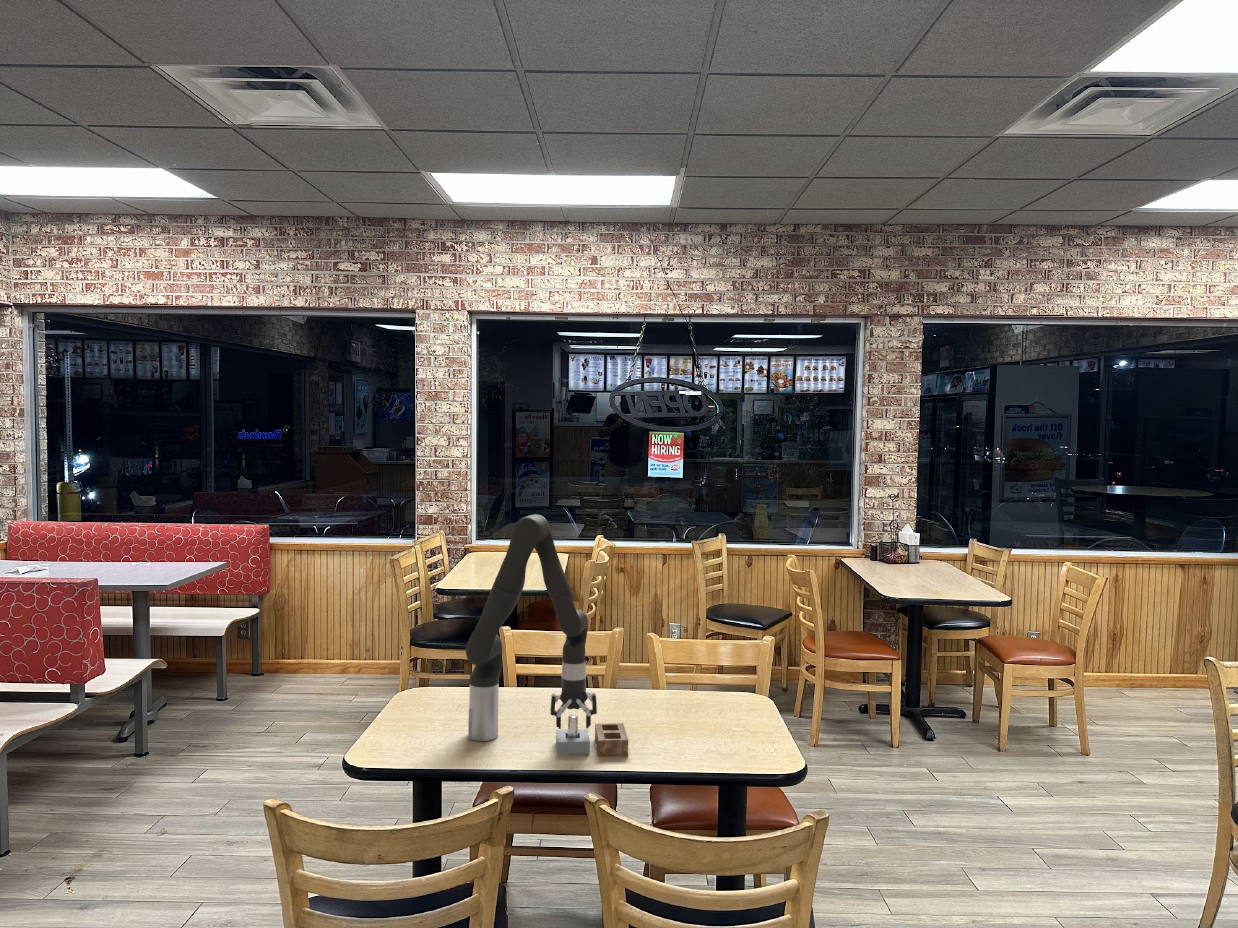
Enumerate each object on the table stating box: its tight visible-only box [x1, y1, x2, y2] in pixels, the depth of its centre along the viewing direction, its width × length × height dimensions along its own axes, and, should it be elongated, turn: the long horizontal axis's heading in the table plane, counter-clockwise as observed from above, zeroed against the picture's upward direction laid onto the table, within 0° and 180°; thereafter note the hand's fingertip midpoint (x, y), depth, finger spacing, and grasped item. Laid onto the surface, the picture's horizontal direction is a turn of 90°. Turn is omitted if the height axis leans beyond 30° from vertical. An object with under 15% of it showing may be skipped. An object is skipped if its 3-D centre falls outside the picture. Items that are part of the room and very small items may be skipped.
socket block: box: [555, 728, 591, 756], centre depth 243 cm, size 10×10×4 cm
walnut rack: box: [594, 722, 629, 758], centre depth 244 cm, size 9×14×5 cm, turn 6°
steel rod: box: [567, 714, 579, 738], centre depth 243 cm, size 3×3×10 cm
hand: (573, 727), depth 243 cm, fingers open, 8 cm apart
